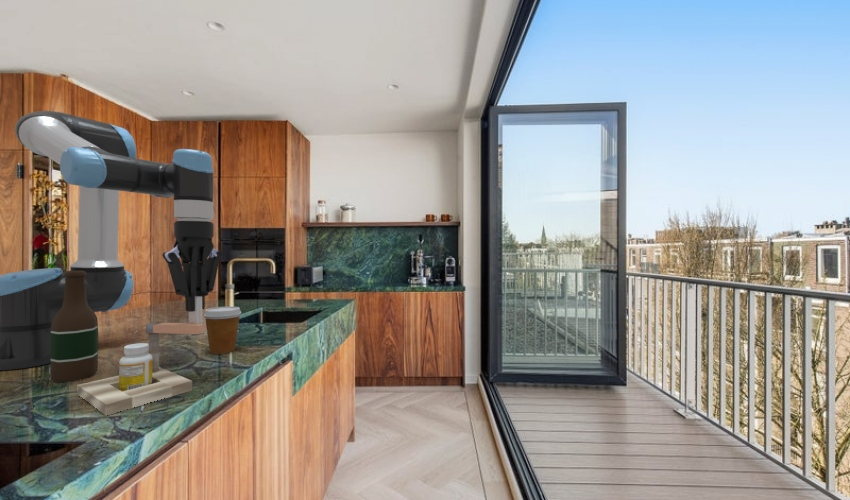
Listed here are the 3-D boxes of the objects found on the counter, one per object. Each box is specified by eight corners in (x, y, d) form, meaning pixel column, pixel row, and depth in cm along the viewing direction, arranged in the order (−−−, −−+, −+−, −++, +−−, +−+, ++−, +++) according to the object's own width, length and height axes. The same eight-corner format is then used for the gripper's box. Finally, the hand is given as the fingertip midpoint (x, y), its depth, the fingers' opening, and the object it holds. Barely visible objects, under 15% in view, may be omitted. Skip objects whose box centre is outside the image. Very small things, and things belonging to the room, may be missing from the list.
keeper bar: (142, 333, 80) (142, 324, 80) (152, 330, 83) (152, 322, 83) (198, 334, 80) (198, 325, 80) (206, 331, 83) (206, 323, 83)
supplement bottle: (133, 399, 72) (133, 350, 72) (111, 396, 73) (111, 348, 73) (158, 389, 77) (159, 343, 77) (138, 386, 78) (138, 341, 78)
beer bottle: (100, 376, 84) (100, 271, 84) (51, 385, 78) (51, 272, 78) (95, 368, 89) (96, 269, 89) (49, 376, 83) (50, 270, 83)
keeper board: (77, 395, 73) (77, 342, 73) (158, 375, 85) (158, 329, 85) (106, 415, 65) (106, 356, 65) (192, 390, 76) (192, 339, 76)
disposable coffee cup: (224, 356, 100) (225, 312, 100) (194, 354, 102) (195, 310, 102) (248, 347, 109) (248, 307, 109) (220, 345, 111) (220, 305, 111)
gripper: (208, 222, 90) (209, 318, 91) (153, 219, 78) (154, 329, 79) (231, 221, 87) (232, 320, 88) (177, 218, 75) (178, 333, 76)
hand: (195, 325), depth 83 cm, fingers closed
